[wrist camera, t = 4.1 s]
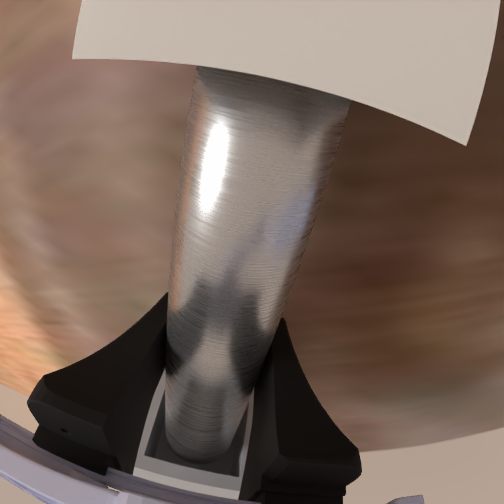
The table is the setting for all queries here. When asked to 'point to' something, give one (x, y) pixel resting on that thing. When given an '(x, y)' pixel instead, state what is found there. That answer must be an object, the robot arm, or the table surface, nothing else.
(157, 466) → the socket
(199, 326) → the tube
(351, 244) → the table surface
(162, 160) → the table surface
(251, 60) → the sleeve
